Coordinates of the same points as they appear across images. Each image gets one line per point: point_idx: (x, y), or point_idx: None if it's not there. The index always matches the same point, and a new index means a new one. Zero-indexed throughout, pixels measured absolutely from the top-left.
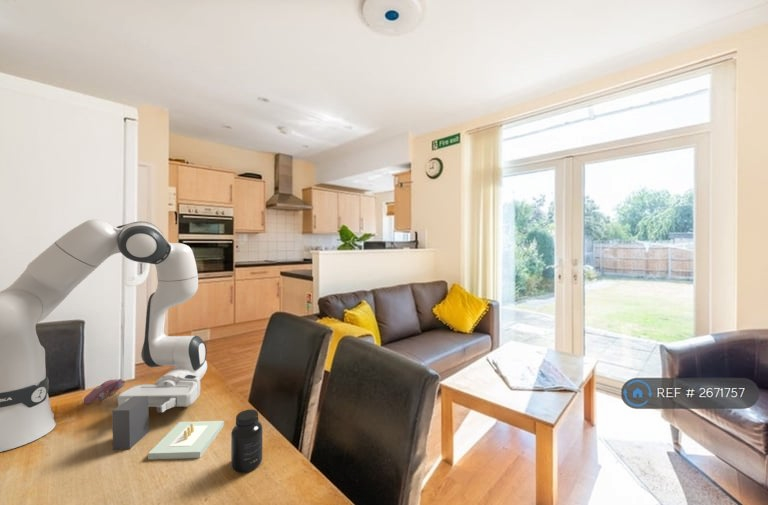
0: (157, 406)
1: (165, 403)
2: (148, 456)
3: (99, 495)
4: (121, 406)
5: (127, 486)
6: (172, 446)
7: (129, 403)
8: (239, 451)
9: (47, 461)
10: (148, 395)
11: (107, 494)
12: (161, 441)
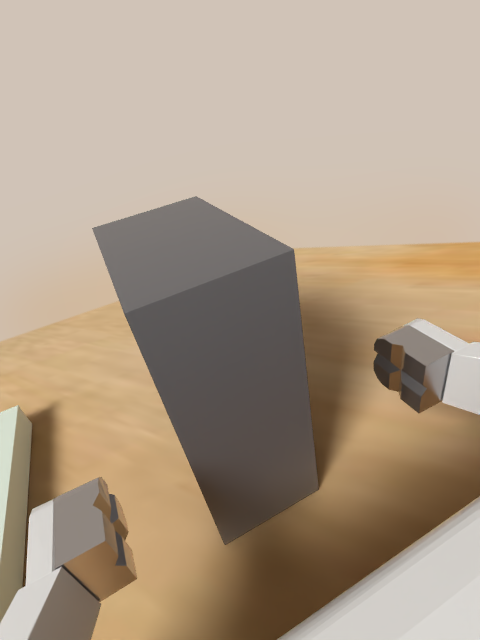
0: (96, 478)
1: (33, 572)
2: (24, 415)
3: (74, 320)
4: (190, 212)
5: (21, 354)
6: None
7: (176, 231)
8: None
9: (371, 282)
10: (460, 514)
11: (56, 328)
12: (2, 475)
